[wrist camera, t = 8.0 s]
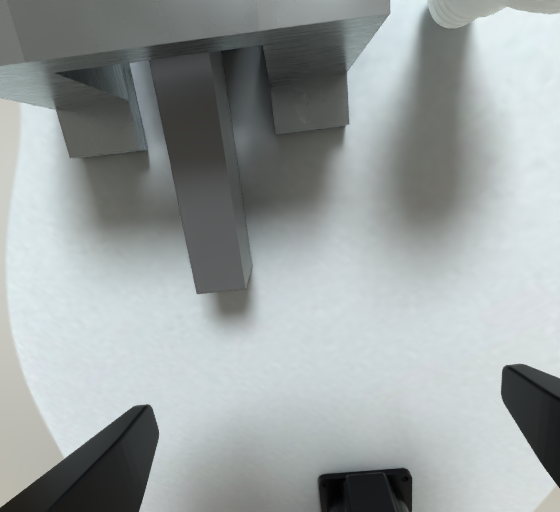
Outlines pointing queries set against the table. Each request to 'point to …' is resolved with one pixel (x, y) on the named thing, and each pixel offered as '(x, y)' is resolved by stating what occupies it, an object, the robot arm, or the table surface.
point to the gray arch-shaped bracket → (171, 43)
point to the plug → (204, 168)
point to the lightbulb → (483, 9)
